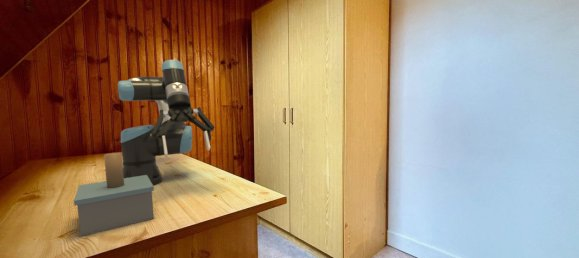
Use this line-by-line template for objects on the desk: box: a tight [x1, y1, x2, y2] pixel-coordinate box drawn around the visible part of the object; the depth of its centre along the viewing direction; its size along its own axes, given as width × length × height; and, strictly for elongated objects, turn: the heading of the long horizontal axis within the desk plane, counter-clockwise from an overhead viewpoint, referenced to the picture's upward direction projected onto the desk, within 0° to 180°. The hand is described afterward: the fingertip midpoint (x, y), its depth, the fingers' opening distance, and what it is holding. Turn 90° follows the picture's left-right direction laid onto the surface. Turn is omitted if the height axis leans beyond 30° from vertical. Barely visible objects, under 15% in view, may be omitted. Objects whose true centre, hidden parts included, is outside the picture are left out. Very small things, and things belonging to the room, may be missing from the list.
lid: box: [73, 152, 155, 207], centre depth 73 cm, size 15×17×11 cm
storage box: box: [76, 191, 155, 237], centre depth 74 cm, size 14×16×8 cm
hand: (188, 152), depth 88 cm, fingers open, 13 cm apart
